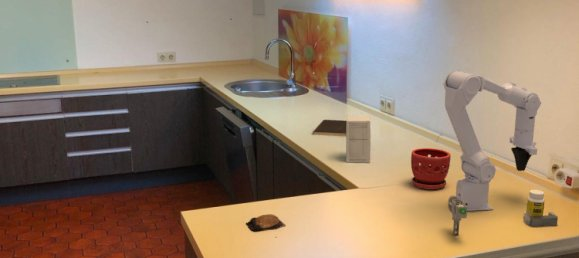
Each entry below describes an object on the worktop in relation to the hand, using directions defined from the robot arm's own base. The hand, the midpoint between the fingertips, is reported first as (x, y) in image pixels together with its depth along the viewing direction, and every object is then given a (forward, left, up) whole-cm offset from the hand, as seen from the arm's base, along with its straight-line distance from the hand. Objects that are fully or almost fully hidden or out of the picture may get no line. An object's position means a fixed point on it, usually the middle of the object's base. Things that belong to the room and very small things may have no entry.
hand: (520, 170), depth 200 cm
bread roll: (-83, -10, -11) cm, 84 cm away
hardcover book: (-43, +98, -11) cm, 107 cm away
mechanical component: (-30, -24, -10) cm, 40 cm away
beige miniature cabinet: (-42, +50, -10) cm, 66 cm away
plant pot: (-24, +17, -10) cm, 31 cm away
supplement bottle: (-2, -16, -10) cm, 19 cm away
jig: (-3, -20, -10) cm, 22 cm away
